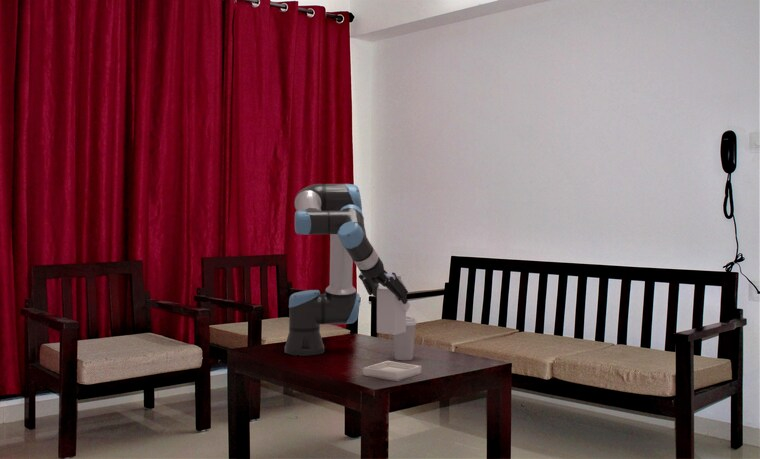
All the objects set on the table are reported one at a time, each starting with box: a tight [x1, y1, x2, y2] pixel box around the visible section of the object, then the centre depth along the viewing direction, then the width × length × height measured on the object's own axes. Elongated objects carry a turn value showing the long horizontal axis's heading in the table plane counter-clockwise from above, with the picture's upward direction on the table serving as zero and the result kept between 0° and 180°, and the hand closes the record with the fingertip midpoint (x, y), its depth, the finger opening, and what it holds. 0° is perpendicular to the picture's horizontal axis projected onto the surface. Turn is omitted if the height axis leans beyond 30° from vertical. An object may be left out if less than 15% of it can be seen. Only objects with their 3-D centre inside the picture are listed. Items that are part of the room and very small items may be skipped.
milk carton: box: [376, 275, 407, 336], centre depth 247 cm, size 7×7×19 cm
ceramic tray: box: [362, 360, 422, 382], centre depth 247 cm, size 14×14×2 cm
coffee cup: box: [392, 315, 418, 361], centre depth 272 cm, size 10×10×15 cm
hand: (397, 307), depth 250 cm, fingers closed on milk carton, 7 cm apart
